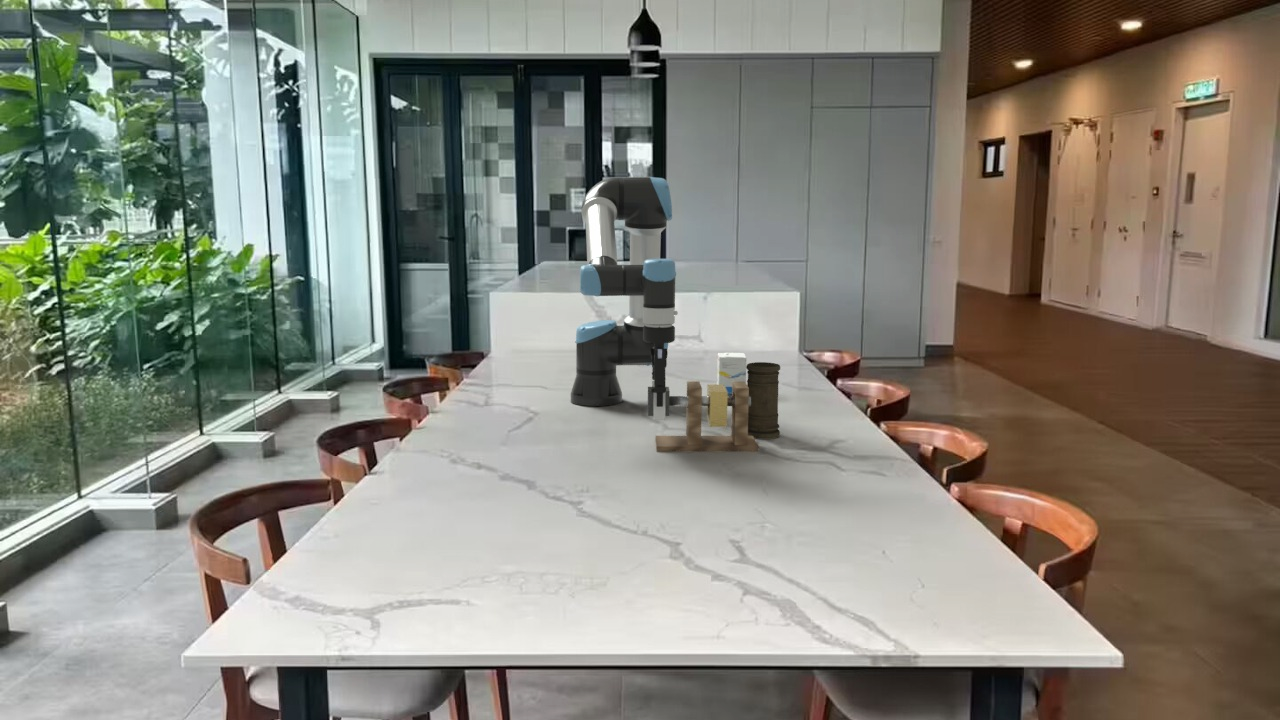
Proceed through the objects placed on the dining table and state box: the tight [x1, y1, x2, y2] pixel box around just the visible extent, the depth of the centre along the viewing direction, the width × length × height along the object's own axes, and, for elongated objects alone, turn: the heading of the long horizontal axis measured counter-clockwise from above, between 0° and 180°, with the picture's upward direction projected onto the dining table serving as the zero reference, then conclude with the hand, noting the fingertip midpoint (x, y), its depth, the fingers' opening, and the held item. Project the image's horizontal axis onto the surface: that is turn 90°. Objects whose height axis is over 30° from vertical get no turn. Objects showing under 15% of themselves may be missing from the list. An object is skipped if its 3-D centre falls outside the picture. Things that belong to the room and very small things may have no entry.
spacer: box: [706, 384, 729, 428], centre depth 220 cm, size 4×8×8 cm, turn 1°
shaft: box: [647, 386, 751, 417], centre depth 220 cm, size 24×5×6 cm, turn 91°
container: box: [746, 361, 781, 440], centre depth 231 cm, size 9×9×18 cm
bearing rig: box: [654, 380, 760, 452], centre depth 221 cm, size 24×10×15 cm, turn 91°
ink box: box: [716, 352, 747, 396], centre depth 283 cm, size 9×8×12 cm
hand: (658, 413), depth 220 cm, fingers open, 13 cm apart
